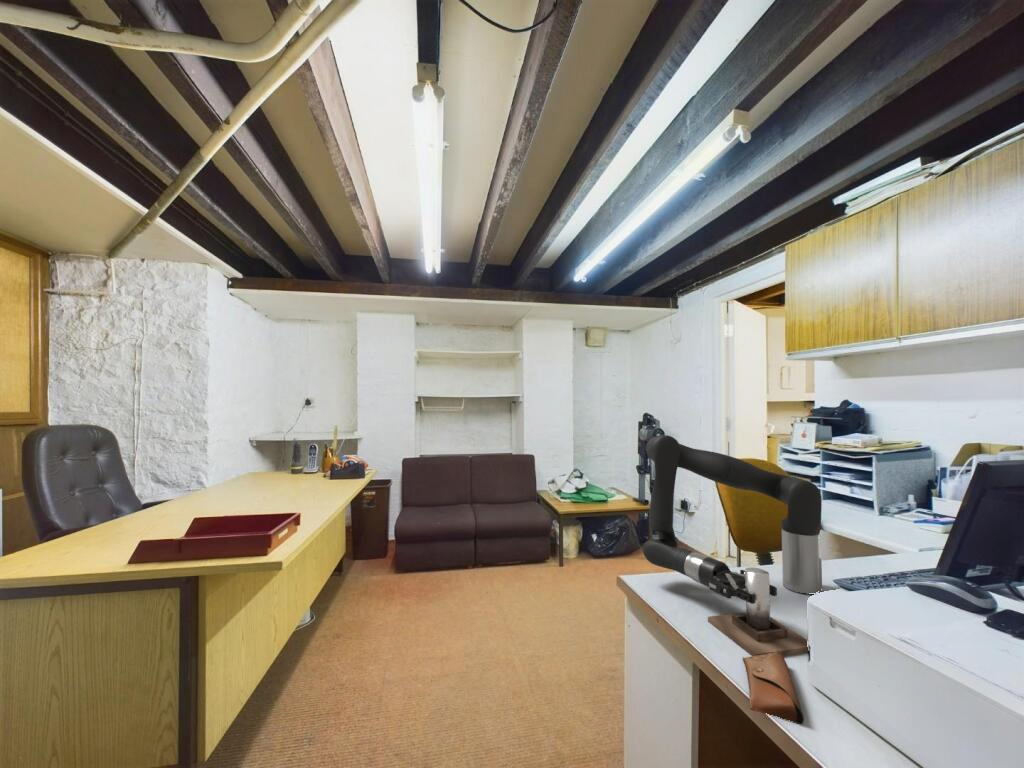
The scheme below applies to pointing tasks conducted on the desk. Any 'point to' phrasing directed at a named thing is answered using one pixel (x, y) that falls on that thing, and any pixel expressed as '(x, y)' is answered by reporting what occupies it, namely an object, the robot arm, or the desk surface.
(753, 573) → the column
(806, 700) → the desk surface
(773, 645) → the lamp base
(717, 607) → the desk surface
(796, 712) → the sunglasses case
